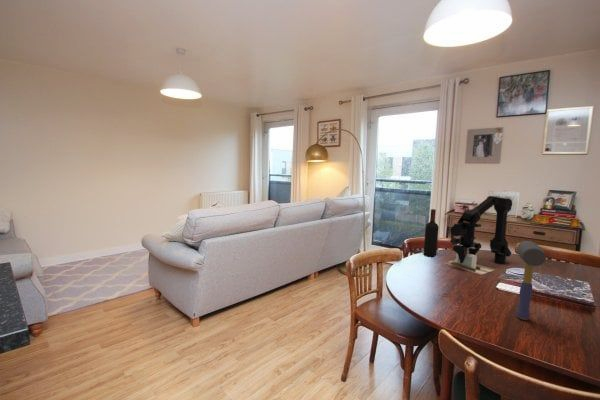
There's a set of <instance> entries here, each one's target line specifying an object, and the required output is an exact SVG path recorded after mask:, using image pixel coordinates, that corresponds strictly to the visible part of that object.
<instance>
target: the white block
mask: <svg viewBox="0 0 600 400" xmlns="http://www.w3.org/2000/svg"><path fill="white" fill-rule="evenodd" d="M455 256H456V258H455V259H456V263H458V264H462V265H465V266H468V267H471V268H475V269H476V264H477V260H478V259H477V258H478V255H477V254H476V255H473V254H469V252H467V255H466V257H465V259H464V262H463V263H460V260H459V256H458V254H457V253H456V255H455Z"/></svg>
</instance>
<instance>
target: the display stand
mask: <svg viewBox="0 0 600 400" xmlns="http://www.w3.org/2000/svg"><path fill="white" fill-rule="evenodd" d="M444 264H446V265H449V266H452V267H455V268H458V269H462V270H465V271H468V272H472V273H474V274H478V275H480V276H482V275H484V274H487V273H490V272H493V271H495V270H496V269H495V268H491V267H487V266H484V265H481V264H478V263H476V269H475V268H471V267H468V266H465V265H462V264H458V263H456V258H455V259H452V260H448V261H444Z"/></svg>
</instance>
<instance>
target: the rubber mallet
mask: <svg viewBox="0 0 600 400" xmlns="http://www.w3.org/2000/svg"><path fill="white" fill-rule="evenodd" d="M516 251H517V254H518V256H519V258H520V259H521V260H522V261H523V262H524V263H525V265H524V272H523V278H522V281H521V285H520V288H519V295H518V296H519V303H518V309H517V311H516V315H517V317H518V318H519V319H521V320H524V321H527V320H528V319H529V318H530V316H531V314H530V308H531V307H530V306H531V300H532V297H533V284H532V283H533V282H532V281H533V272H534V267H540V266H541V265H543V264H544V263H545V262H546V261H547V255H546V253H545V251H544V249H543V248H541V246H540V245H538V244H537V243H536V242H533V241H532V240H531V241H530V240H523V241H521V242H519V243H518V245H517V247H516Z"/></svg>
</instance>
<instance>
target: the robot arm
mask: <svg viewBox="0 0 600 400" xmlns="http://www.w3.org/2000/svg"><path fill="white" fill-rule="evenodd" d="M512 206H513V201H512V200H511V198H508V197H506V198H505V197H500V196H499V197H498V196H496V195H495V196H493V195H489V196H487V197H486V198H485V199H484V200H483V201H481V202H480V203H479V204H478V205H477V206H475V207H474V208H472V209H468V210H466V211H464V212H463V213H462V215H461V216H460V218H459V219H458V221H457V223H456V222H455V223H453V225H452V226H451V228H450V233H451V235H452V236H454V237H451V238H450V240H449V241H450V243H451V244H452V251H453V252H455V253H456V255H457V254H458V256H459V260H460V263H463V262H464V259H465V257H466V255H467V253H469V254H473V255H476V256H477V253H478V252H479V251H480V249H482V244H481V243H480V242H477V241H476V242H475V240H476V239H477V237H476V236H475V233H476V228H478V227H479V225H478V224H477V222H479V221H480V220H481V217H482V215H483V214H484V213H486V212H487V211H488V210H490V209H491V208H492V207H493V208H494V211H495V212H496V219H495V228H494V229H495V230H494V237H493V238H492V239H490V240H489V247H490V248H489V249H490V252H491V253H493V254H494V256H493V257H494V258H493V259H494V260H493V262H494V264H497V265H506V264H507V263H506V262H507V258H508V257H511V255H512V251H511V250H510V249H509V243H508V241H507V239H506V229H507V218H508V213H509V212H510V211H511V210H512Z"/></svg>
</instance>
